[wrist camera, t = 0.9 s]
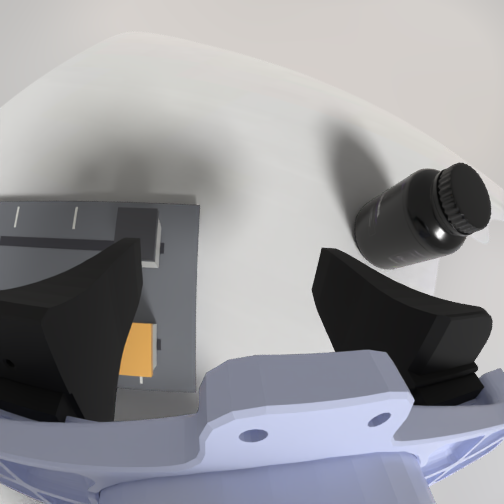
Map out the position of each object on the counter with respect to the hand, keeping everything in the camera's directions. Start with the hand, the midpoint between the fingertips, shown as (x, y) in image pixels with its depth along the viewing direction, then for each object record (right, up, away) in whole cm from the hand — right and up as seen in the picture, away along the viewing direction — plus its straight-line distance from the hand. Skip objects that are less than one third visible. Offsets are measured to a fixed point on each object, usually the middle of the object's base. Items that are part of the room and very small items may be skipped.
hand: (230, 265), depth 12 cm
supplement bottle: (+13, +2, +16) cm, 21 cm away
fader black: (-7, +1, +10) cm, 12 cm away
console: (-13, -3, +9) cm, 17 cm away
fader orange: (-7, -6, +8) cm, 12 cm away
